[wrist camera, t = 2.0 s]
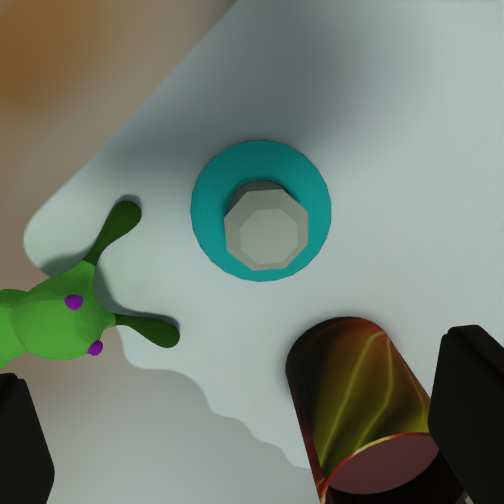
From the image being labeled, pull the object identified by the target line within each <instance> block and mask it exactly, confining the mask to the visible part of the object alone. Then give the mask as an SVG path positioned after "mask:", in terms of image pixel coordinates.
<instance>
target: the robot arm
mask: <svg viewBox="0 0 504 504" xmlns="http://www.w3.org/2000/svg"><path fill="white" fill-rule="evenodd" d="M427 424H428V429H429V432H430V435H431V437H432V438H433V440H434V442H435V443H436V445H437V446H438V448H439V450H440V451H441V453H442V454H443V456H444V458H445V459H446V461H447V462H448V464H449V466H450V467H451V469H452V470H453V472H454V473H455V475H456V477H457V478H458V480H459V481H460V483H461V485H462V486H463V488H464V489H465V491H466V493H467V494H468V496H469V497H470V499H471V501H472V502H473V504H504V348H503V347H502V346H501V345H500V344H499V343H498V342H497V341H496V340H495V339H494V338H493V337H491V336H490V335H489V334H488V333H487V332H486V331H485V330H484V329H483V328H482V327H480V326H479V325H466V326H457V327H452V328H450V329H449V330H448V333H447V334H444V335H443V336H442V339H441V344H440V350H439V355H438V361H437V367H436V373H435V378H434V384H433V390H432V396H431V401H430V407H429V413H428V419H427ZM54 472H55V471H54V465H53V462H52V459H51V456H50V453H49V450H48V447H47V444H46V441H45V438H44V435H43V432H42V429H41V426H40V423H39V420H38V417H37V414H36V411H35V407H34V404H33V401H32V398H31V395H30V392H29V390H28V386H27V384H26V381H25V380H24V379H18V378H17V376H16V375H15V374H14V373H4V374H0V504H46V503H47V500H48V497H49V494H50V491H51V489H52V486H53V482H54V474H55V473H54Z"/></svg>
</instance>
